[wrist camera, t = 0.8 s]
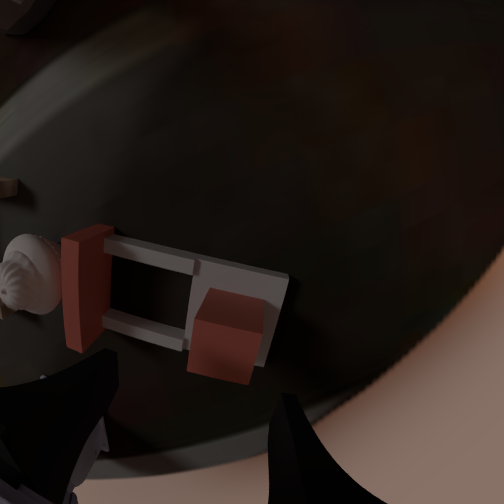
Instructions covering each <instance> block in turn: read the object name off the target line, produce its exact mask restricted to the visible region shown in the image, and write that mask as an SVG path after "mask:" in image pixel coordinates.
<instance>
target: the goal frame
mask: <svg viewBox="0 0 504 504" xmlns="http://www.w3.org/2000/svg"><path fill="white" fill-rule="evenodd" d="M17 192H18V179H14V178H8V177H2V176H0V198H5V197H10V196H15V195H17ZM14 312H15V310H13V309H12V308H8V307H7V306H6V304H5V303H3V302H2V299H1V298H0V319H2V320H4V319H5V318H6V317H8V316H9V315H11V314H12V313H14Z"/></svg>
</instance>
